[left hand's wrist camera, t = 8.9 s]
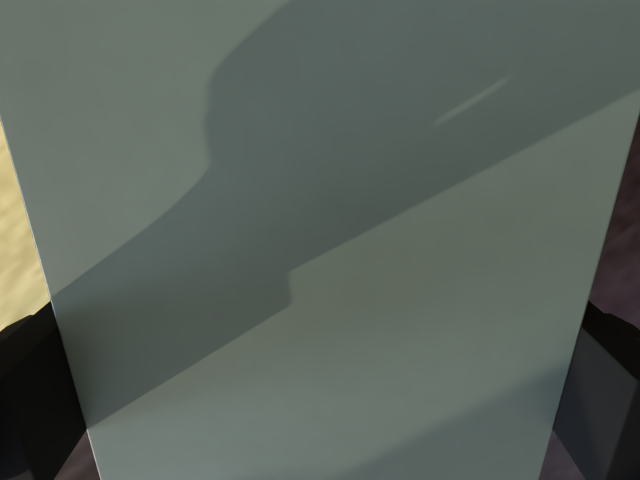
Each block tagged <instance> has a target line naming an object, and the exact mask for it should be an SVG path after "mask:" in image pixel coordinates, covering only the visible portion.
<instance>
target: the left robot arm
mask: <svg viewBox="0 0 640 480" xmlns="http://www.w3.org/2000/svg"><path fill="white" fill-rule="evenodd" d="M86 430H87V429H86V425H85V422H84V418H83V415H82V411H81V407H80V404H79V400H78V397H77V393H76V389H75V386H74V382H73V379H72V375H71V372H70V368H69V364H68V361H67V357H66V354H65V350H64V346H63V343H62V339H61V336H60V332H59V329H58V325H57V321H56V318H55V314H54V311H53V307H52V303H51V301H50V302H49V303H47V304H46V305H45V306H44V307H43V308H41V309H40V310H39V311H38V312H37V313H36V314H34V315H29V316H27V317H25V318H23V319H21V320H19V321H17V322H15V323H13V324H11V325H9V326H7V327H6V328H4V329H3V330H2V331H1V332H0V480H54V478H55V477H56V475H57V474H58V472H59V471H60V469H61V468H62V466H63V465H64V463H65V461H66V460H67V458H68V457H69V455H70V454H71V452H72V451H73V449H74V448H75V446H76V445H77V443H78V442H79V440H80V439H81V437H82V436H83V434H84V433H85V431H86ZM553 430H554V432H555V433H556V435H557V436H558V438H559V439H560V441H561V442H562V444H563V445H564V447H565V449H566V450H567V452H568V453H569V455H570V456H571V458H572V459H573V461H574V462H575V464H576V465H577V467H578V468H579V470H580V471H581V473H582V474H583V476H584V477H585V479H586V480H640V330H639V329H638V328H636V327H635V326H634V325H632V324H630V323H628V322H626V321H624V320H622V319H620V318H618V317H616V316H614V315H612V314H604V313H603V312H602V311H600V310H599V309H598V308H597V307H596V306H594V305H593V304H592V303H591V302H590V301H588V303H587V307H586V310H585V314H584V318H583V321H582V325H581V328H580V332H579V336H578V339H577V343H576V347H575V350H574V354H573V357H572V361H571V365H570V368H569V372H568V376H567V379H566V383H565V386H564V390H563V394H562V397H561V401H560V405H559V408H558V412H557V415H556V419H555V423H554V426H553Z"/></svg>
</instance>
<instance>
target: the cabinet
mask: <svg viewBox="0 0 640 480" xmlns="http://www.w3.org/2000/svg"><path fill="white" fill-rule="evenodd" d="M639 115H640V0H0V121H1V124H2V128H3V131H4V135H5V138H6V142H7V146H8V149H9V153H10V156H11V160H12V164H13V167H14V171H15V174H16V178H17V182H18V185H19V189H20V192H21V196H22V199H23V203H24V207H25V210H26V214H27V217H28V221H29V225H30V228H31V232H32V235H33V239H34V242H35V246H36V250H37V253H38V257H39V260H40V264H41V268H42V271H43V275H44V278H45V282H46V285H47V289H48V293H49V296H50V300H51V303H52V307H53V311H54V314H55V318H56V321H57V325H58V329H59V332H60V336H61V339H62V343H63V346H64V350H65V354H66V357H67V361H68V364H69V368H70V372H71V375H72V379H73V382H74V386H75V389H76V393H77V397H78V400H79V404H80V407H81V411H82V415H83V418H84V422H85V425H86V429H87V432H88V436H89V440H90V443H91V447H92V450H93V454H94V458H95V461H96V465H97V468H98V472H99V476H100V479H101V480H539V477H540V473H541V470H542V466H543V463H544V459H545V455H546V452H547V448H548V444H549V441H550V437H551V434H552V430H553V426H554V423H555V419H556V415H557V412H558V408H559V405H560V401H561V397H562V394H563V390H564V386H565V383H566V379H567V376H568V372H569V368H570V365H571V361H572V357H573V354H574V350H575V347H576V343H577V339H578V336H579V332H580V328H581V325H582V321H583V318H584V314H585V310H586V307H587V303H588V299H589V296H590V292H591V289H592V285H593V281H594V278H595V274H596V270H597V267H598V263H599V260H600V256H601V252H602V249H603V245H604V241H605V238H606V234H607V231H608V227H609V223H610V220H611V216H612V212H613V209H614V205H615V202H616V198H617V194H618V191H619V187H620V183H621V180H622V176H623V173H624V169H625V165H626V162H627V158H628V154H629V151H630V147H631V144H632V140H633V136H634V133H635V129H636V125H637V122H638V118H639Z"/></svg>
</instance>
